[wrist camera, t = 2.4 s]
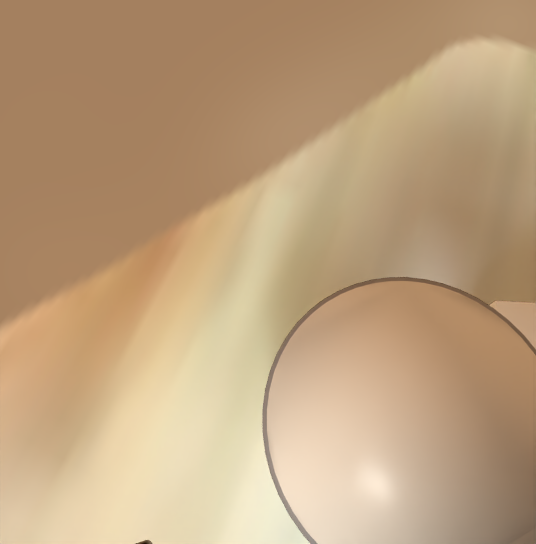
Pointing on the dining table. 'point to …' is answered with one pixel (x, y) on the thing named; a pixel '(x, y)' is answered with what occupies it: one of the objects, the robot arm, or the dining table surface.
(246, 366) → the dining table surface
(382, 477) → the plug
